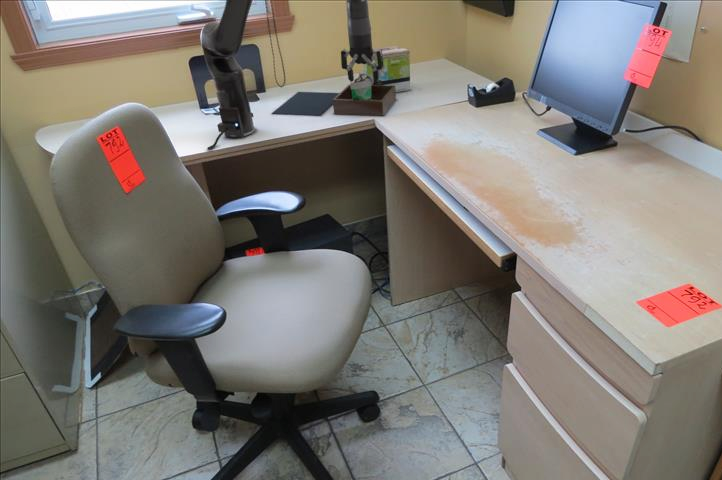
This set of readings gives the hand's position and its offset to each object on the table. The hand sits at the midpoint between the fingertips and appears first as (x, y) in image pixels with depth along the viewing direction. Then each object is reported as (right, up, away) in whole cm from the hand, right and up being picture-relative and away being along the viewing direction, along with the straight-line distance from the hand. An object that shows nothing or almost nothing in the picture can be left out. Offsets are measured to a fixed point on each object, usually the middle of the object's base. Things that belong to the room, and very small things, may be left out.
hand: (363, 81), depth 191 cm
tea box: (+8, +3, +19) cm, 21 cm away
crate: (0, -7, +5) cm, 9 cm away
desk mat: (-21, -5, +10) cm, 24 cm away
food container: (0, -7, +5) cm, 9 cm away
